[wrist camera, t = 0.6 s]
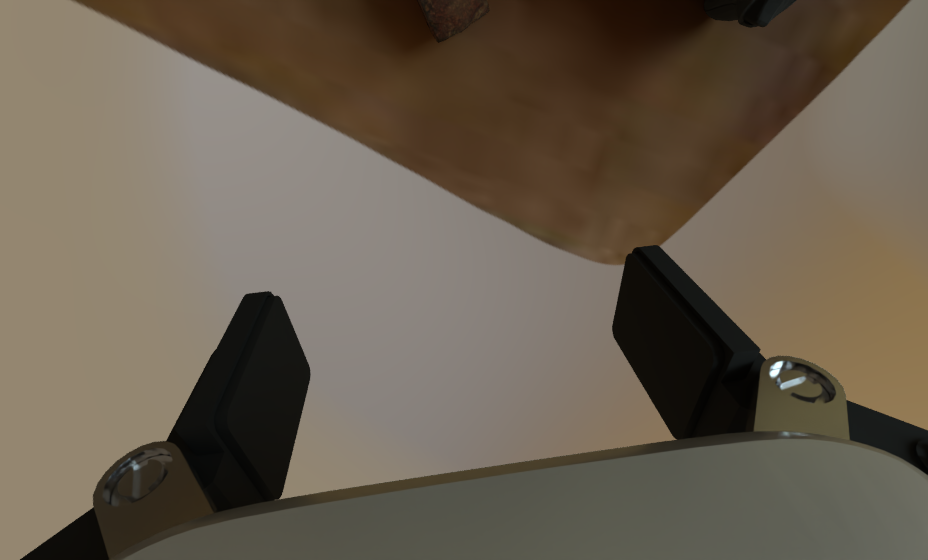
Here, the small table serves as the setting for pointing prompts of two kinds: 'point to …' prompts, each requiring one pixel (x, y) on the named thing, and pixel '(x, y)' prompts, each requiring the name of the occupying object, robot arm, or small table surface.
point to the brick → (451, 15)
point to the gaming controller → (746, 10)
